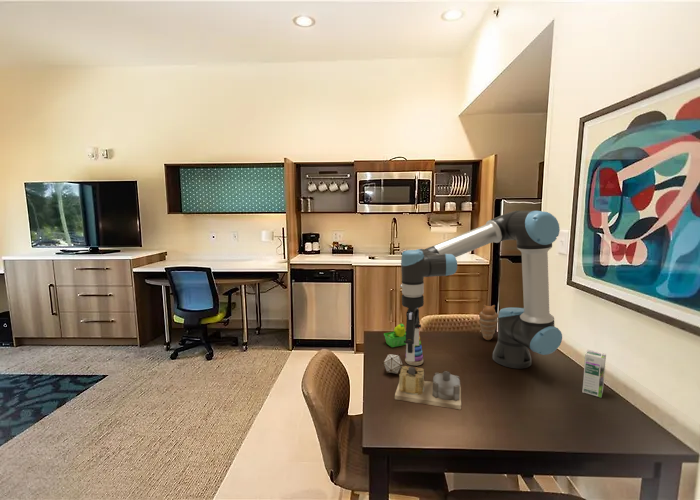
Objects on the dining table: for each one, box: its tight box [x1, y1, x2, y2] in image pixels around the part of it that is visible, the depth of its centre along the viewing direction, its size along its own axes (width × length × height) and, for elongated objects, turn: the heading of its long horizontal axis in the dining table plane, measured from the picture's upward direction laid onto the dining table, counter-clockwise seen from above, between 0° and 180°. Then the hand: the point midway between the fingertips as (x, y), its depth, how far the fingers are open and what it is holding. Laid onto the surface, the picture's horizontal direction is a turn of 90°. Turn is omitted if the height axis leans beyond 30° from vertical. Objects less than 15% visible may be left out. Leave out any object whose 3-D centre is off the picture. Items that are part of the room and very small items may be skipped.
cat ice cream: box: [478, 303, 499, 341], centre depth 170 cm, size 9×8×18 cm
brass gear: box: [398, 365, 425, 395], centre depth 124 cm, size 8×8×6 cm
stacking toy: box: [404, 323, 425, 367], centre depth 146 cm, size 8×8×19 cm
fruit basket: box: [383, 323, 406, 348], centre depth 166 cm, size 11×9×11 cm
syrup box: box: [581, 349, 607, 398], centre depth 122 cm, size 6×6×14 cm
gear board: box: [394, 366, 462, 410], centre depth 122 cm, size 22×13×9 cm, turn 72°
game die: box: [381, 351, 405, 377], centre depth 138 cm, size 9×8×10 cm
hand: (413, 352), depth 122 cm, fingers open, 13 cm apart
